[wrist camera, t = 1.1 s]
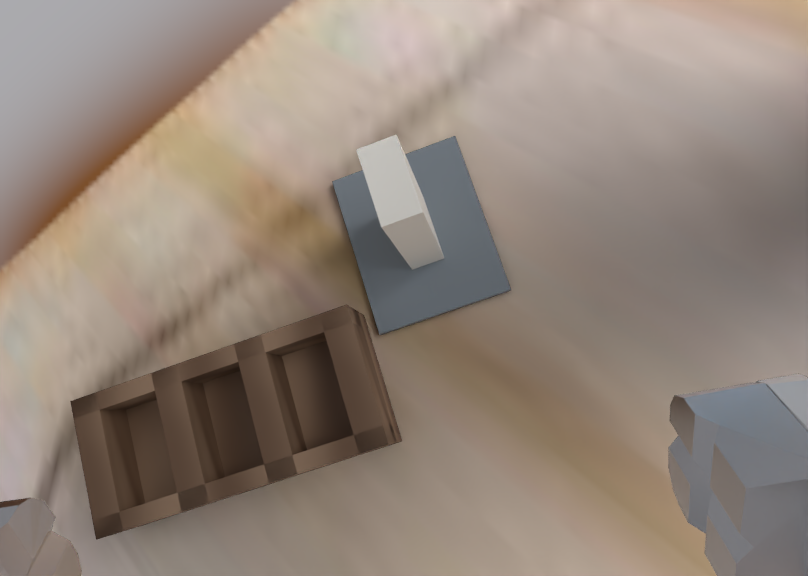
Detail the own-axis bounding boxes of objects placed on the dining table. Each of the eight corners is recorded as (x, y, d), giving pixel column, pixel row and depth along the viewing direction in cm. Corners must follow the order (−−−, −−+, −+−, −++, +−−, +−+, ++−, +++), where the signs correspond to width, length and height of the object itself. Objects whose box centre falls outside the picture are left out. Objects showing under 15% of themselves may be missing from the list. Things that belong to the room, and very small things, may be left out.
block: (423, 197, 38) (396, 134, 30) (444, 258, 37) (422, 212, 29) (392, 208, 39) (356, 149, 30) (412, 269, 38) (381, 227, 29)
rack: (363, 315, 38) (346, 304, 34) (402, 441, 36) (388, 444, 32) (113, 402, 40) (70, 401, 36) (139, 526, 38) (96, 539, 34)
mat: (455, 138, 39) (454, 135, 39) (510, 290, 37) (510, 289, 36) (334, 183, 40) (332, 181, 40) (380, 334, 38) (379, 334, 37)
